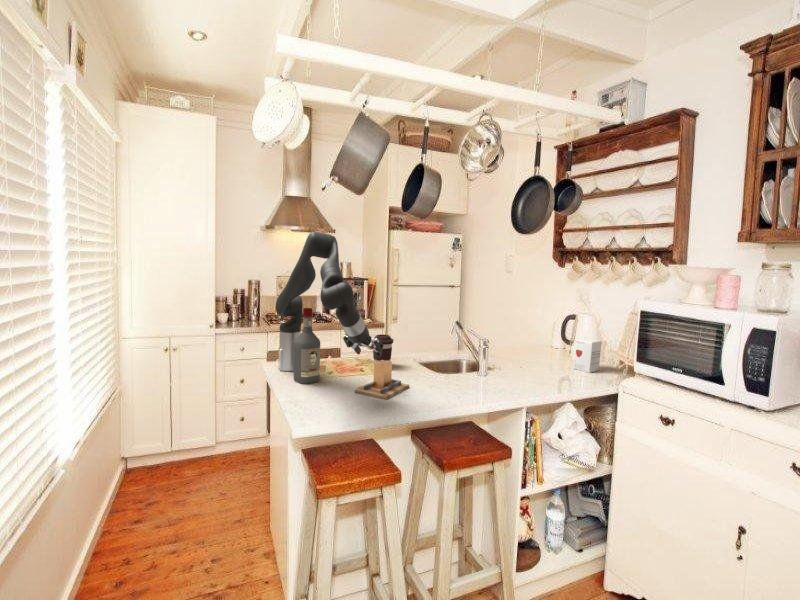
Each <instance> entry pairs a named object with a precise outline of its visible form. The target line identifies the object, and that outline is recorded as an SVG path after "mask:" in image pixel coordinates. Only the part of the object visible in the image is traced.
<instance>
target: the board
mask: <svg viewBox="0 0 800 600" xmlns="http://www.w3.org/2000/svg"><path fill="white" fill-rule="evenodd" d="M373 386H374V380H373V381H371V382H369V383H367V384H364V385H363V386H360V387H357V388H356V389H354V393H355V394H358V395H364V396H368V397H372V398H375V397H376V398H377V399H381V400H385V401H387V400H389V399H391V398H392V397H394V396H396V395H398V394H400V393H402V392H403V391H406V390H408V389H409V388H410V384H407V383H403V382H402V380H398V379H394V378H393V379H392V378H391V385H389V386H387V387H385V388H383V389H381V390H380V389H376V388H373Z"/></svg>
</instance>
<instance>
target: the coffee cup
mask: <svg viewBox="0 0 800 600" xmlns="http://www.w3.org/2000/svg"><path fill="white" fill-rule="evenodd" d="M376 336H377V337H379V339H380V340H381V342H382V344H383V345H384V346H383V349H382V351H381V352H382V354H381V356H380V357H377V355H376V353H375V351H373V350H372V355H373V358H372V359H373V364H374V363H376V362H378V361H381V360H386V361H391V359H392V352H393V351H392V350H393V343H394V338H392V337H391V335H389V334H382V333H380V334H376V335H375V336H374V338H376ZM374 348H376V346H374Z"/></svg>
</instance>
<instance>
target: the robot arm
mask: <svg viewBox="0 0 800 600" xmlns="http://www.w3.org/2000/svg"><path fill="white" fill-rule="evenodd" d="M312 257H314V258H319V259H324V262H323V263H322V265H321V267H320V272H319V273H320V274H319V275H320V279H321V281H322V284H321V289H320V302H321V304H322V306H323V307H324V308H325V309H327V310H330V311H332V310H335V316H336V317H337V320H338V322H339V323H340V325H341V327H342V330H343V331H344V335H343V338H342V340H343V341H344V343H345V345H346V347H347V348H348V349H349V348H351V349H353V351H354V352H355V353H356V355H360V354H361V352H362V349H361V347H364V348H367V349H368V350H371V351H372V352H373V351H375V353H376V355H377V357H380V356H381V354H382V352H381V351H382V349H383V346H384V345H383V344H382V342H381V340H380V339H379V337H377V336H376V335H375V336H376V338H375V337H372V336H371V335H370V331H369V328H368V327H367V325H366V322H365V321H364V319H363V318H362V316H361V314H360V313H359V311H358V309H357V307H356V305H355V295H354V289H353V287H352V285H351V284H350V283H349V282H347V281H344V277H343V274H342V270H341V268H340V259H339V258H340V254H339V245H338V240H337V238H336V237H335V236H334V235H331V234H328V233H323V232H320V231H315V230H314V231H311V232H310V233H309V234H308V235H307V238H306V239H305V242H304V245H303V248H302V250H301V254H300V256H299V258H298V260H297V262H296V264H295V266H294V268H293V270H291V271H292V272H291V273H290V276H289V279H288V280H287V282H286V284H285V286H284V288H283V289H282V290H281V292H280V294H279V295H278V297H277V299H276V302H275V305H274V306H275V312H276V314H277V315H278V316H281V317H290V318H289V319H288V320H287V321H285V322H282V323H281V324H280V325H279V333H278V335H279V336H278V337H279V340H278V341H279V342H278V344H279V345H278V346H279V347H278V370H279V371H280V372H281V371H282V372H294V342H295V340H296V339H297V337H298V336H299V335H300V334H301V333H302V326H303V308H304V307H303V299H302V297H301V295H303V294H304V293H306V292H308V290H310V288H311V287H312V285H313V283H314V281H315V279H316V274H317V273H316V269H315V267H314V265H313V262H312ZM325 259H326V260H325ZM374 346H376V348H374Z"/></svg>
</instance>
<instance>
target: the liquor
mask: <svg viewBox="0 0 800 600" xmlns="http://www.w3.org/2000/svg"><path fill="white" fill-rule="evenodd" d="M320 378H321V340H320V338H319V337H318V336H317V335H316V334H315V333H314V330H313V308H312V307H303V309H302V329H301V334H300V335H299V336H298V337H297V339H296V340H295V342H294V371H293V380H294V381H295V382H296V383H299V384H300V385H301V384H302V385H309V384H312V383H313V384H314V383H318V381H319V380H320Z"/></svg>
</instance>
